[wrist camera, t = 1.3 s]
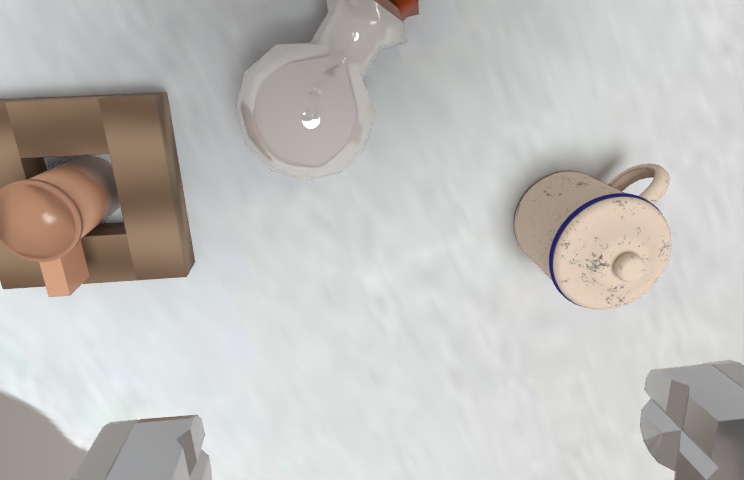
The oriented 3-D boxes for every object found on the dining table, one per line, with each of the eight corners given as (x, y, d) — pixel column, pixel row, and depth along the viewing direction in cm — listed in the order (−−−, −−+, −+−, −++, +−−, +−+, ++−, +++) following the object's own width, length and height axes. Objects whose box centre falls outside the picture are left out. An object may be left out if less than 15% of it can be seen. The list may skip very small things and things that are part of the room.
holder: (-28, 100, 39) (-55, 104, 36) (166, 92, 40) (155, 96, 37) (23, 273, 43) (3, 289, 41) (195, 262, 44) (186, 276, 42)
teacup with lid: (555, 283, 48) (623, 352, 38) (489, 224, 46) (541, 280, 35) (654, 187, 46) (758, 231, 35) (590, 119, 43) (681, 143, 32)
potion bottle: (260, 153, 43) (356, -9, 41) (348, 215, 40) (457, 42, 38) (182, 119, 35) (299, -88, 33) (286, 195, 31) (424, -30, 29)
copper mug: (48, 155, 40) (-24, 183, 32) (120, 151, 41) (68, 178, 32) (72, 253, 43) (13, 303, 35) (140, 249, 44) (96, 297, 35)
